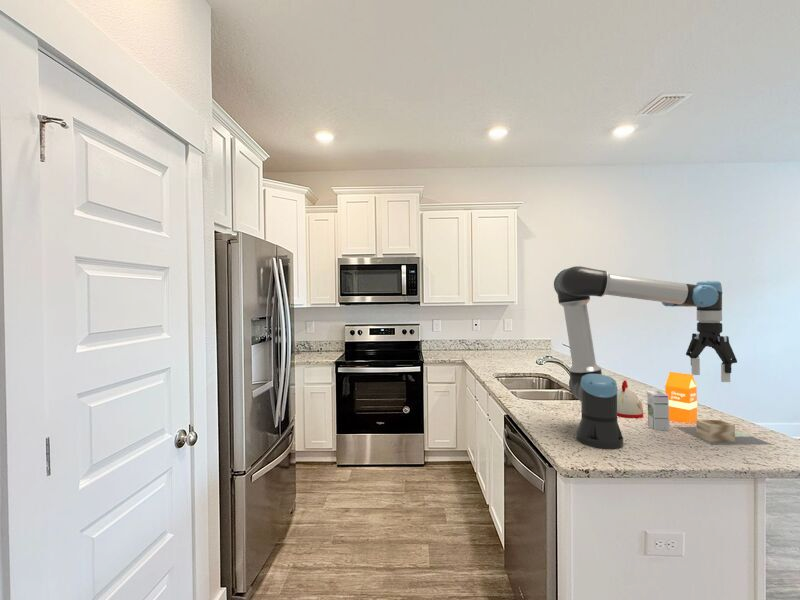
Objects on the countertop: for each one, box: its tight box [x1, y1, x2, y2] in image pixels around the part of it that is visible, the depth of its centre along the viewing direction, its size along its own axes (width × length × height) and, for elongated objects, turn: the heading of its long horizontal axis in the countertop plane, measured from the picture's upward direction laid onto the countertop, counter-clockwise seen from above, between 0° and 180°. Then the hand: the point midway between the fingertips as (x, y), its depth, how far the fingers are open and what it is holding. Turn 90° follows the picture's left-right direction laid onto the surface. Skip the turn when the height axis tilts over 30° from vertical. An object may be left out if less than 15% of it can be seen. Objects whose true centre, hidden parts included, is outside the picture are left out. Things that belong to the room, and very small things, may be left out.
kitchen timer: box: [617, 379, 644, 419], centre depth 174 cm, size 14×14×15 cm
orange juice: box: [664, 371, 698, 424], centre depth 164 cm, size 8×9×20 cm
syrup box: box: [646, 390, 671, 431], centre depth 153 cm, size 6×6×14 cm
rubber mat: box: [673, 426, 772, 446], centre depth 144 cm, size 21×19×1 cm
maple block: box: [695, 419, 736, 442], centre depth 140 cm, size 9×6×6 cm, turn 90°
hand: (710, 378), depth 145 cm, fingers open, 13 cm apart
